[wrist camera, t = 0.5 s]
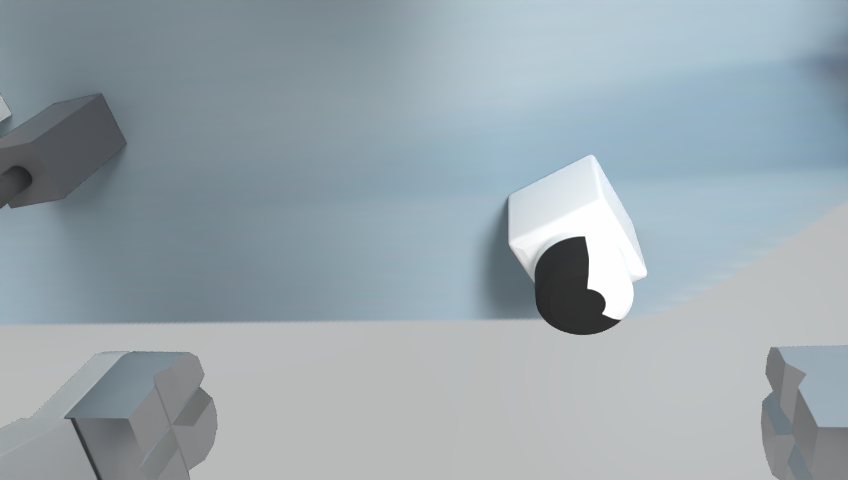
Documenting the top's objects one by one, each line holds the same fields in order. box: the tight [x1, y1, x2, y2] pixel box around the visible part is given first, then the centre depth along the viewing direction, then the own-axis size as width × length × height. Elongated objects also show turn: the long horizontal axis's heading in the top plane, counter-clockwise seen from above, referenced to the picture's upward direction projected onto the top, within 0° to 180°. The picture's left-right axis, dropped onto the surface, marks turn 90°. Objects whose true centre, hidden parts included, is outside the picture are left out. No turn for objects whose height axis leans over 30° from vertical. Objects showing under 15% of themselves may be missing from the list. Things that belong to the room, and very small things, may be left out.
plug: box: [0, 93, 127, 208], centre depth 47 cm, size 4×4×12 cm
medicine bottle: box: [508, 155, 647, 335], centre depth 47 cm, size 7×7×12 cm
